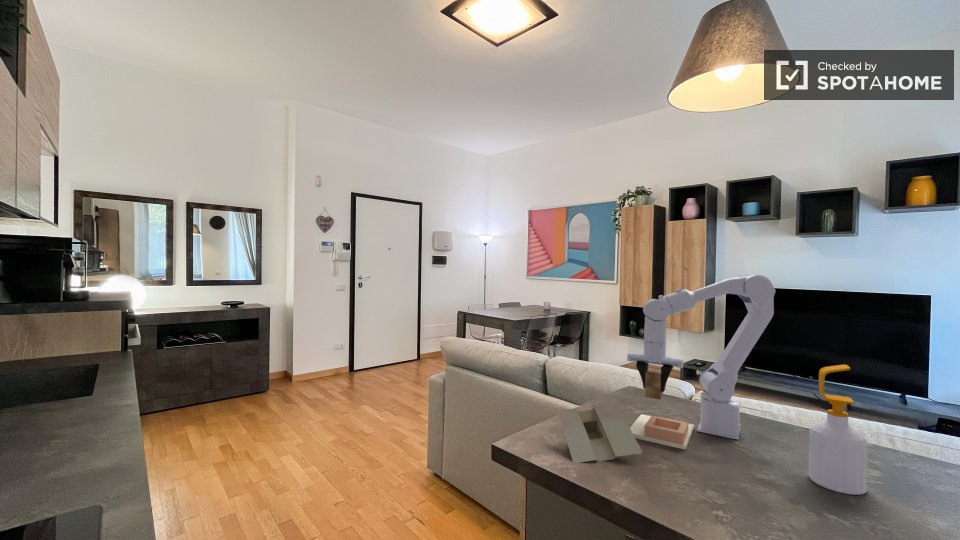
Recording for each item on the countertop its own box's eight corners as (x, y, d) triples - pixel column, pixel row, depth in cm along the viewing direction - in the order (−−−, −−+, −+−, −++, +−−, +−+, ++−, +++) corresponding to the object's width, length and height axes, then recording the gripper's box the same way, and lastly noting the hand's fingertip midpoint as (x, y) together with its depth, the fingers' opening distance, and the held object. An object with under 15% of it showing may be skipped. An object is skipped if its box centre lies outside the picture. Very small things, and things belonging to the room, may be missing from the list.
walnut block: (662, 396, 117) (663, 371, 117) (660, 399, 113) (660, 374, 113) (648, 393, 119) (648, 369, 119) (644, 397, 116) (645, 372, 116)
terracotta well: (688, 433, 107) (688, 422, 107) (683, 445, 100) (683, 433, 100) (651, 425, 112) (651, 415, 112) (644, 436, 105) (644, 425, 105)
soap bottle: (872, 501, 78) (874, 372, 78) (811, 487, 83) (813, 365, 83) (860, 481, 86) (862, 364, 86) (805, 469, 91) (807, 358, 91)
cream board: (694, 428, 114) (694, 424, 114) (685, 449, 100) (685, 445, 100) (641, 417, 121) (641, 414, 121) (626, 436, 107) (626, 432, 107)
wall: (638, 469, 98) (616, 411, 109) (645, 452, 92) (621, 394, 103) (571, 479, 97) (555, 420, 109) (573, 463, 92) (556, 403, 103)
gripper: (624, 340, 117) (624, 388, 117) (680, 346, 109) (680, 397, 109) (631, 337, 123) (630, 382, 123) (684, 343, 115) (683, 391, 115)
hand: (654, 389), depth 116 cm, fingers closed on walnut block, 4 cm apart
